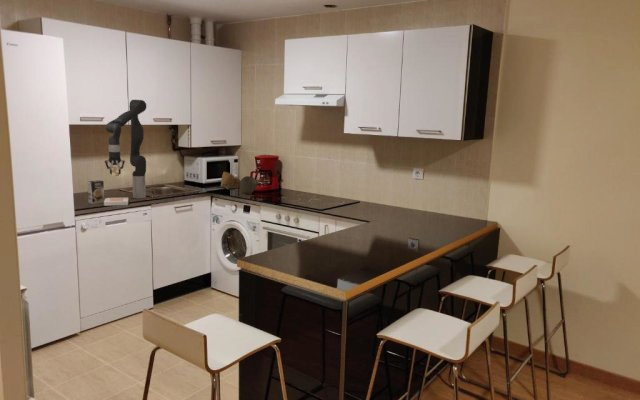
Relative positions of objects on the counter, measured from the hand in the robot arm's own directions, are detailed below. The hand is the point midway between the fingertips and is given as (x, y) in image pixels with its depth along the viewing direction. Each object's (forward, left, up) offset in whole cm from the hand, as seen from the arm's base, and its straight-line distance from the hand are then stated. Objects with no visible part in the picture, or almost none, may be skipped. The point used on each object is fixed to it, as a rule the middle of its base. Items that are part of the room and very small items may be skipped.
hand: (115, 174), depth 353 cm
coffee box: (+14, -4, -22) cm, 26 cm away
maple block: (0, 0, -1) cm, 1 cm away
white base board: (0, 0, -21) cm, 21 cm away
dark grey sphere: (-103, -23, -22) cm, 108 cm away
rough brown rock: (-94, -54, -22) cm, 111 cm away
